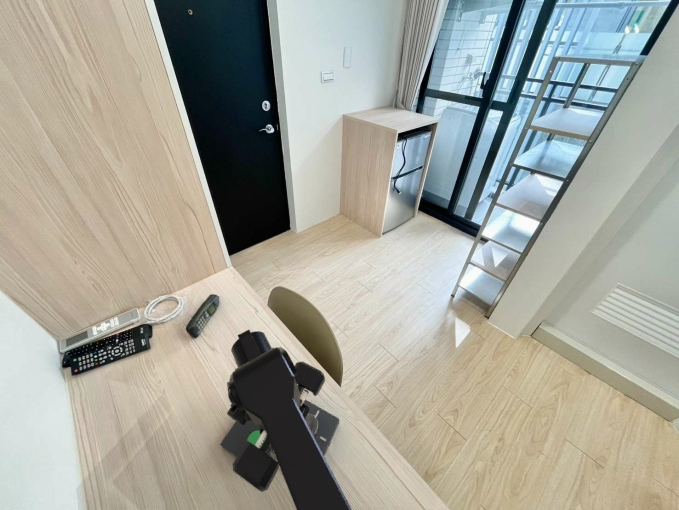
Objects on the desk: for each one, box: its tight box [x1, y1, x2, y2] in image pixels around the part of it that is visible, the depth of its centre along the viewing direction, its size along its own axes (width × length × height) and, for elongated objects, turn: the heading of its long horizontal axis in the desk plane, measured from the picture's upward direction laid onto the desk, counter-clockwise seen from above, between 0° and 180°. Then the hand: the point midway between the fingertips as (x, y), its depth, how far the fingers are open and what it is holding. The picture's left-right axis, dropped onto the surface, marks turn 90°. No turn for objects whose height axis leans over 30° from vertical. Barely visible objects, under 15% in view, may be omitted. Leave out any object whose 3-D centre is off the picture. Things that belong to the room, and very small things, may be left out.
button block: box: [219, 420, 273, 458], centre depth 60 cm, size 10×11×4 cm
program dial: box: [305, 414, 319, 438], centre depth 58 cm, size 4×4×4 cm
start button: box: [247, 431, 266, 448], centre depth 57 cm, size 4×4×2 cm
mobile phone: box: [185, 293, 220, 339], centre depth 82 cm, size 5×3×15 cm
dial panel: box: [303, 398, 340, 457], centre depth 60 cm, size 10×10×3 cm
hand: (290, 430), depth 52 cm, fingers closed
